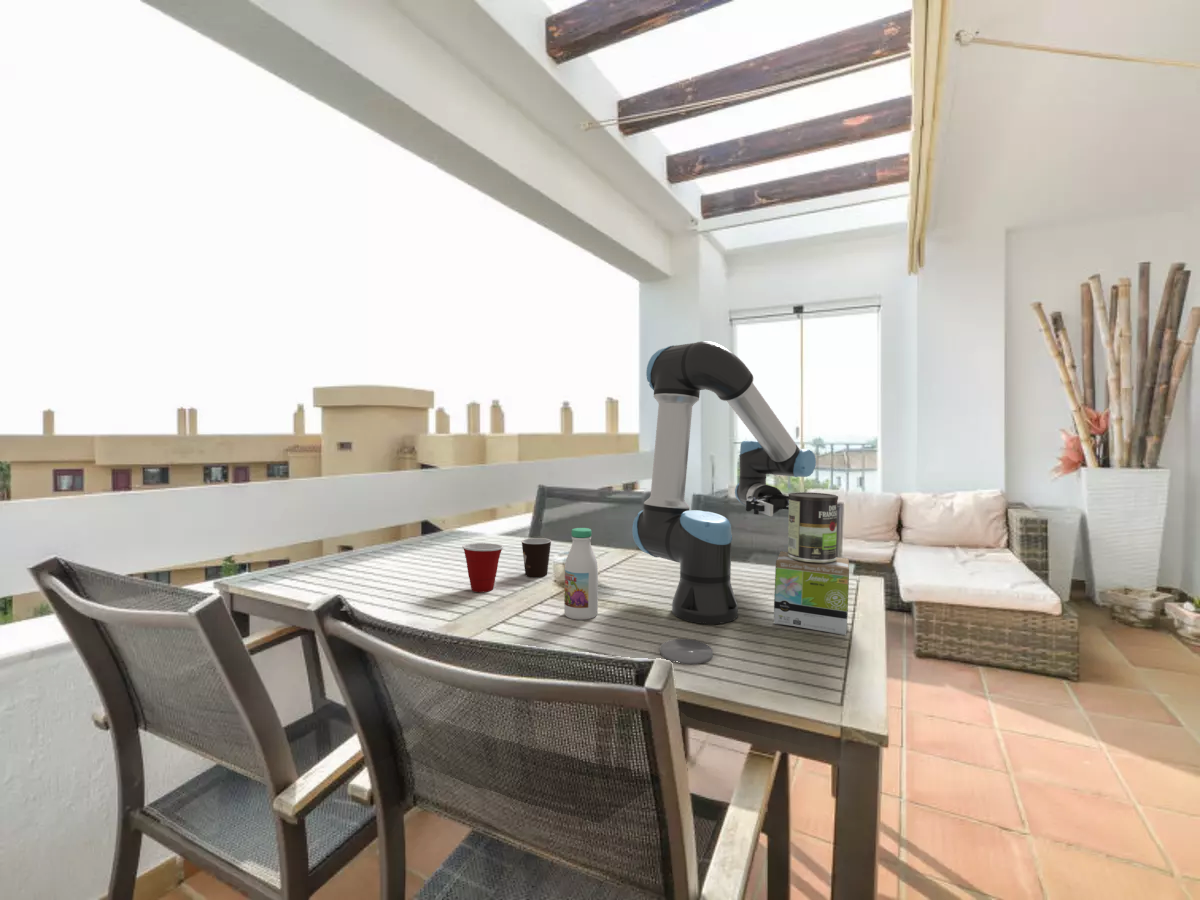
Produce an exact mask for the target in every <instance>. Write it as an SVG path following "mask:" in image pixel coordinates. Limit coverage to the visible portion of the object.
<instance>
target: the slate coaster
mask: <svg viewBox="0 0 1200 900" xmlns="http://www.w3.org/2000/svg"><path fill="white" fill-rule="evenodd" d="M659 652H660V656H662V658H664V659H666V660H667V659H669V660H668V661H670V660H671V661H670V662H672V663H673V661H675V662H674V663H676V661H678V662H680V663H679V664H681V663H683V665H699V664H698V663H700V664H703V663H706V661H707V662H709V661H711V660H712V658H713V654H714V653H713V648H712V647H711V646H710V645H708V644H707V643H705V642H702V641H700V640H695V639H690V638H676V639H675V638H674V639H670V640H666V641H664V642H663V643H661V645H660V647H659Z"/></svg>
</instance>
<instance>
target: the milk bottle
mask: <svg viewBox="0 0 1200 900" xmlns="http://www.w3.org/2000/svg"><path fill="white" fill-rule="evenodd" d="M591 539H592V529H591V528H588V527H576V528H572V529H571V540H572V543H571V547H570V550H569V552H568V554H567V556H566V559H565V564H564V565H565V566H564V590H563V591H564V595H563V597H564V604H563V605H564V608H563V609H564V610H563V611H564V615H565V617H566V618H568V619H571V620H577V621H578V620H583V621H584V620H590V619H593V618H595V617H596V616H597V615H598V611H599V610H598V609H599V607H598V606H599V603H598V602H599V597H598V596H599V594H598V593H599V573H598V572H599V571H598V569H599V568H598V561H597V557H596V555H595V554H596V553H594V550H593V548H592V547H593V546H592V545H591Z"/></svg>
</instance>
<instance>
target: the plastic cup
mask: <svg viewBox="0 0 1200 900" xmlns="http://www.w3.org/2000/svg"><path fill="white" fill-rule="evenodd" d="M462 549H463V551H464V552H463V553H464V557H465V562H466V568H467V572H468V573H467V574H468V579H469V583H470V584H469V585H470V589H471V591H472V592H476V593H487V592H492V590H494V587H495V582H496V581H495V580H496V576H497V572H498V567H499V560H500V557H501V553H502V550H503V549H504V546H503V545H501V544H496V543H485V542H484V543H483V542H476V543H475V542H474V543H466V544H463V545H462Z"/></svg>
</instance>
